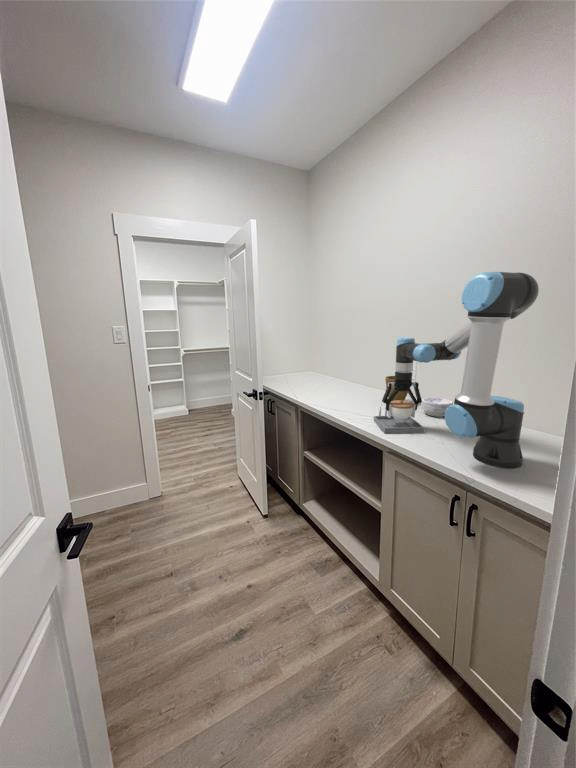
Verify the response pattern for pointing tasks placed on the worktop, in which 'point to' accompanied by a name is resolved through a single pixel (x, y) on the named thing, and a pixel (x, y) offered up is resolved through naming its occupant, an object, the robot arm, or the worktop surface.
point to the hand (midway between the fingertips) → (400, 416)
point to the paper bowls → (435, 406)
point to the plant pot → (400, 395)
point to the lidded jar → (401, 410)
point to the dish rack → (397, 424)
